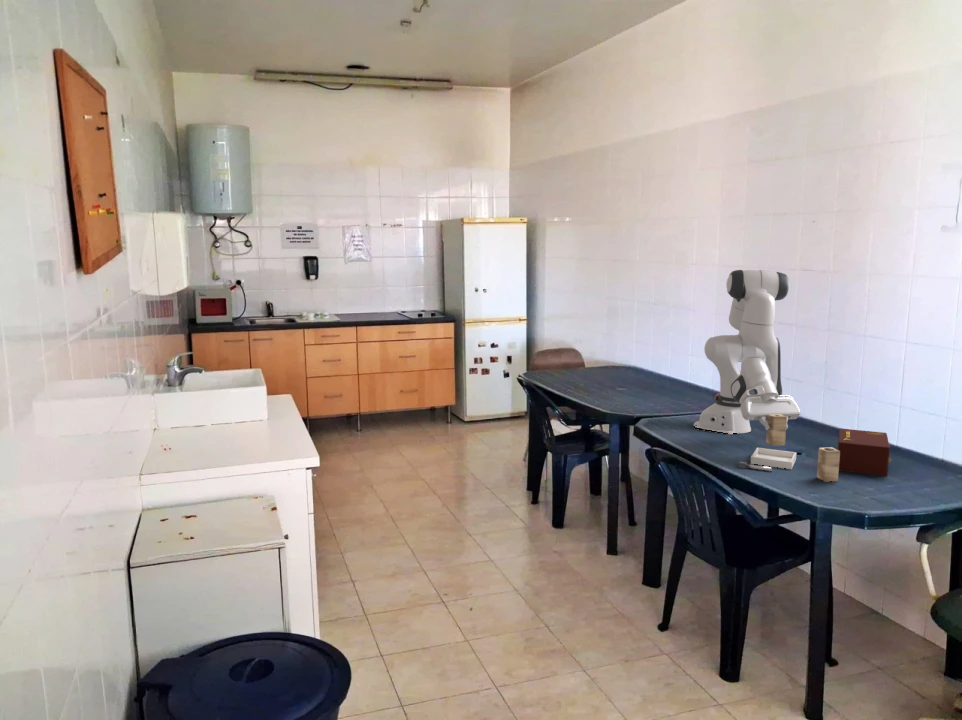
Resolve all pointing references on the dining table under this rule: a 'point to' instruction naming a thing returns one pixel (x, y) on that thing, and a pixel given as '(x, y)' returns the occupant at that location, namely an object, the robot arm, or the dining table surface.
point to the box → (863, 451)
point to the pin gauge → (754, 466)
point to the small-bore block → (776, 429)
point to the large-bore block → (828, 464)
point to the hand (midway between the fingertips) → (777, 428)
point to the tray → (773, 458)
